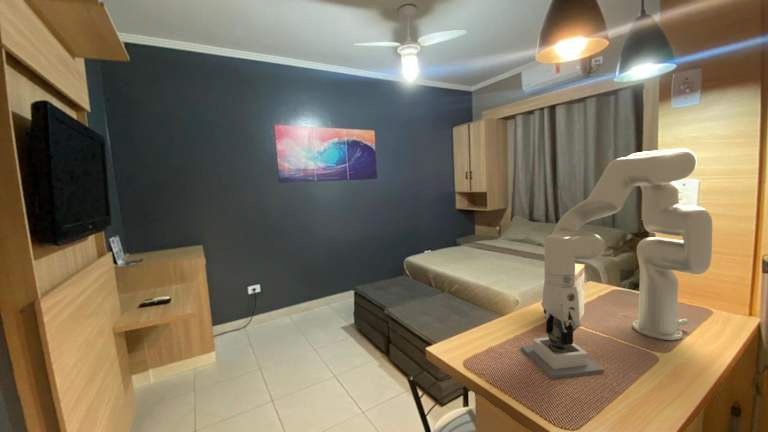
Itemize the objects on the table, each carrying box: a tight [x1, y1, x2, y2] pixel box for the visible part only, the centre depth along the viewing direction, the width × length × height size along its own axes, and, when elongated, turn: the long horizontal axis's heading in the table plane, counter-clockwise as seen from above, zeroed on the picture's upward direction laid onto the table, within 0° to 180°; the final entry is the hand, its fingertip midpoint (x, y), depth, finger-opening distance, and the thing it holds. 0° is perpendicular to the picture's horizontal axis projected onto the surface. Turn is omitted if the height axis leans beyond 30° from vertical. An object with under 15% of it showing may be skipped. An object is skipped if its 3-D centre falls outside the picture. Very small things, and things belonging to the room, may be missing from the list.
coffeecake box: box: [565, 262, 586, 327], centre depth 116 cm, size 15×7×20 cm, turn 136°
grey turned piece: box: [547, 316, 569, 353], centre depth 90 cm, size 6×6×12 cm
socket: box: [520, 336, 604, 380], centre depth 91 cm, size 15×15×4 cm
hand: (559, 337), depth 90 cm, fingers closed on grey turned piece, 5 cm apart
